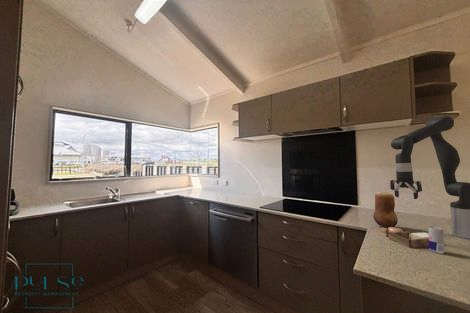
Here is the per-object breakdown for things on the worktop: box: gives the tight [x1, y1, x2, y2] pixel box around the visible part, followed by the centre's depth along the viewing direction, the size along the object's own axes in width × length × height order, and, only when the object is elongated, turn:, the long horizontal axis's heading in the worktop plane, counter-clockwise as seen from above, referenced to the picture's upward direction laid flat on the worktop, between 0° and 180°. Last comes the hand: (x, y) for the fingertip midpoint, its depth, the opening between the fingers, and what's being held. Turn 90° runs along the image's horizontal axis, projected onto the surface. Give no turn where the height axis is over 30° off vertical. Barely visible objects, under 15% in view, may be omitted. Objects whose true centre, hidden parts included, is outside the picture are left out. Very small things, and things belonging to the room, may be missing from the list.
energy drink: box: [427, 225, 445, 255], centre depth 99 cm, size 5×5×12 cm
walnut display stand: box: [388, 231, 429, 249], centre depth 110 cm, size 12×12×4 cm
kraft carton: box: [410, 232, 429, 239], centre depth 111 cm, size 9×7×4 cm
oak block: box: [378, 227, 389, 237], centre depth 123 cm, size 4×4×4 cm
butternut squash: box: [372, 191, 399, 229], centre depth 137 cm, size 14×13×25 cm
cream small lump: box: [388, 226, 404, 232], centre depth 122 cm, size 7×7×4 cm
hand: (406, 198), depth 115 cm, fingers open, 8 cm apart
